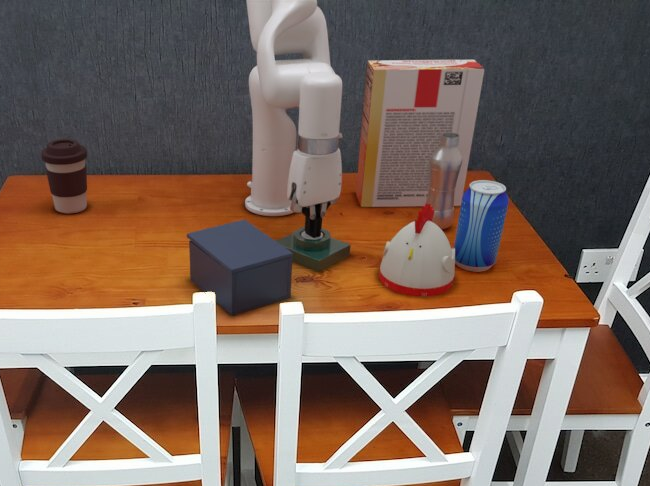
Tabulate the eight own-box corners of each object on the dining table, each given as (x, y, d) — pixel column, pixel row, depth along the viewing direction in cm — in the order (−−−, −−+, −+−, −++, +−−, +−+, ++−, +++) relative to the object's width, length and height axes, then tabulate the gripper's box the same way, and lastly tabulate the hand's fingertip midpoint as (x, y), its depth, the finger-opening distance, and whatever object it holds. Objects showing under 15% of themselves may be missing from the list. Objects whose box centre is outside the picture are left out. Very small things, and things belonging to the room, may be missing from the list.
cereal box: (452, 192, 186) (474, 59, 169) (460, 205, 179) (484, 68, 162) (355, 193, 186) (367, 60, 169) (360, 206, 179) (374, 69, 162)
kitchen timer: (367, 284, 148) (375, 210, 140) (394, 256, 158) (404, 185, 150) (438, 303, 142) (451, 226, 134) (462, 273, 152) (476, 200, 144)
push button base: (272, 253, 160) (273, 233, 157) (304, 238, 166) (305, 218, 163) (318, 272, 153) (319, 251, 150) (349, 255, 159) (351, 235, 156)
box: (190, 280, 150) (188, 240, 146) (246, 265, 156) (246, 226, 151) (231, 315, 139) (231, 274, 135) (290, 298, 144) (292, 257, 140)
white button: (296, 242, 158) (296, 234, 157) (310, 235, 160) (310, 227, 159) (313, 249, 155) (313, 240, 154) (327, 242, 158) (327, 234, 157)
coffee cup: (40, 213, 177) (30, 147, 169) (64, 197, 185) (55, 133, 176) (78, 219, 174) (70, 153, 166) (100, 203, 182) (94, 139, 173)
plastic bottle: (452, 234, 167) (468, 141, 155) (420, 231, 168) (433, 139, 157) (451, 222, 172) (466, 131, 161) (420, 219, 173) (433, 129, 162)
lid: (186, 237, 146) (186, 233, 145) (244, 222, 151) (244, 219, 151) (231, 273, 134) (231, 269, 134) (292, 256, 140) (292, 252, 139)
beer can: (487, 277, 151) (504, 198, 142) (445, 267, 154) (458, 189, 145) (500, 260, 156) (516, 183, 147) (459, 251, 160) (472, 175, 151)
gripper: (338, 131, 152) (331, 220, 162) (273, 144, 146) (271, 236, 156) (362, 142, 147) (354, 233, 157) (296, 156, 140) (292, 250, 151)
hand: (312, 234), depth 156 cm, fingers closed
